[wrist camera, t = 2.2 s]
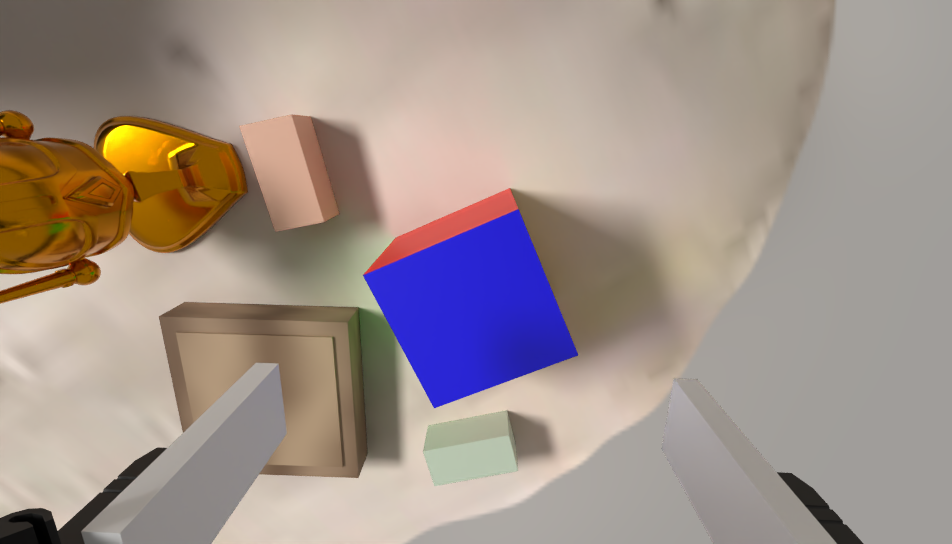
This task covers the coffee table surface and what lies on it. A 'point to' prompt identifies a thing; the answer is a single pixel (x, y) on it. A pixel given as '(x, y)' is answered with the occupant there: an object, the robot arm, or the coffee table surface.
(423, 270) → the cube
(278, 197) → the terracotta brick
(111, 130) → the figurine
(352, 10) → the coffee table surface
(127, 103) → the coffee table surface
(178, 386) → the walnut slab
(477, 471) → the sage brick
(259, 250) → the coffee table surface
